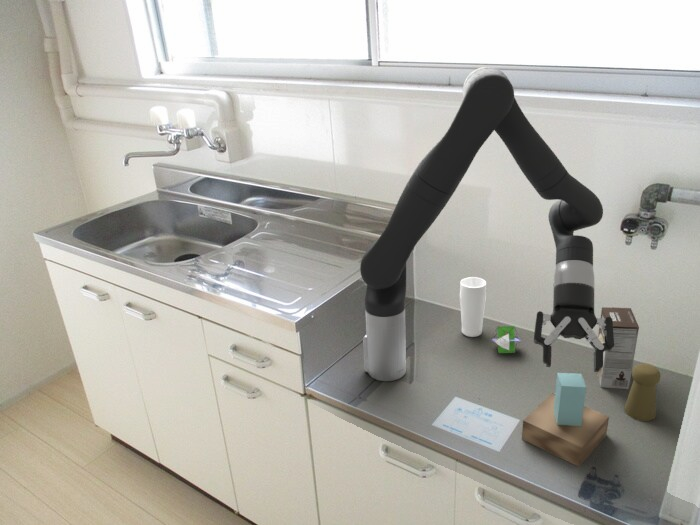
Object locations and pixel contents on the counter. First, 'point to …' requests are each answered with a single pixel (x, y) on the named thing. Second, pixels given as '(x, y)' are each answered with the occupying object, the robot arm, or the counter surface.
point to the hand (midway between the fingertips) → (572, 368)
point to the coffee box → (618, 348)
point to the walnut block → (564, 432)
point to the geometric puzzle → (506, 339)
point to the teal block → (569, 399)
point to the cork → (643, 393)
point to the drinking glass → (472, 305)
